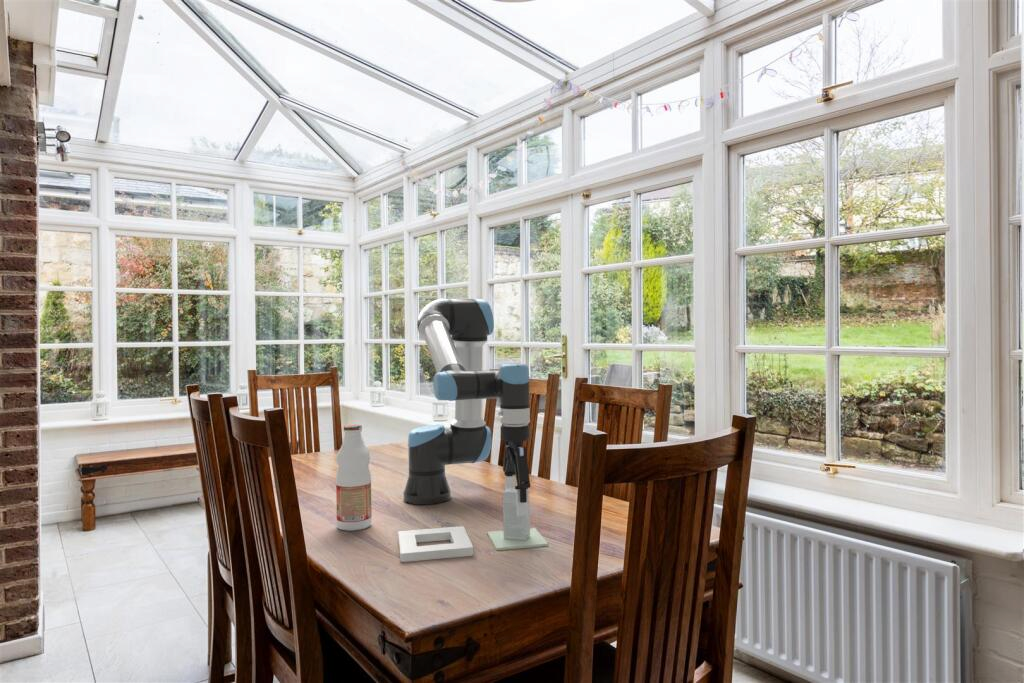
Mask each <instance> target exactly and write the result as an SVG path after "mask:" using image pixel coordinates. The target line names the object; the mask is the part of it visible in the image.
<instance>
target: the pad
mask: <svg viewBox="0 0 1024 683" xmlns="http://www.w3.org/2000/svg"><path fill="white" fill-rule="evenodd" d="M486 534H488V535H487V536H488V538H489V540H490V542H491V541H492V542H491V543H492V546H493V547H494V548H495V550H496V551H497V550H498V551H506V550H508V551H509V550H516V549H519V550H520V549H528V548H529V549H531V548H538V547H539V548H541V547H549V542H547V540H546V539H545V538H544V537H543V536H542V534H541V533H540V532H539V530H538V529H537V528H536V527H530V536H529V537H528V538H527V539H526V540H515V539H504V534H503V530H494V531H492V530H491V531H487V532H486Z"/></svg>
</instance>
